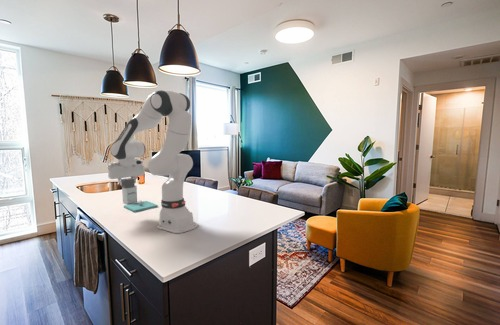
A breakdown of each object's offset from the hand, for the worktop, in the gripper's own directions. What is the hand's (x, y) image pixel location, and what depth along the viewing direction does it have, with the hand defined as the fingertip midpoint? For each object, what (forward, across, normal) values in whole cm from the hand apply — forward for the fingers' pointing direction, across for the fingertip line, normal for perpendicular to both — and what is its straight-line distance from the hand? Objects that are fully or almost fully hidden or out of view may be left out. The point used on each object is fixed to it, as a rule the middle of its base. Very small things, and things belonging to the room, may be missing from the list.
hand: (127, 184), depth 144 cm
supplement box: (+19, +12, +26) cm, 35 cm away
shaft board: (+19, +12, +10) cm, 24 cm away
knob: (+2, 0, 0) cm, 2 cm away
